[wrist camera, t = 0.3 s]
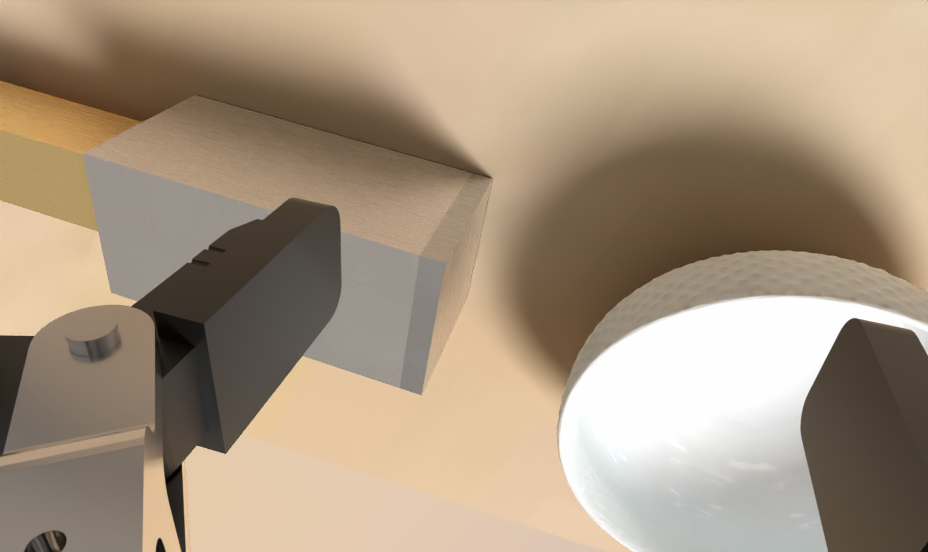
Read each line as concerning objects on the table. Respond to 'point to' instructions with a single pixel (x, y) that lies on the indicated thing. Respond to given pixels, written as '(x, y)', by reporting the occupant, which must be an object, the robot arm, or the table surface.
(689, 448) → the cereal bowl
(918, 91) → the table surface
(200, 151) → the sleeve
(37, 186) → the rod
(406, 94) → the table surface
